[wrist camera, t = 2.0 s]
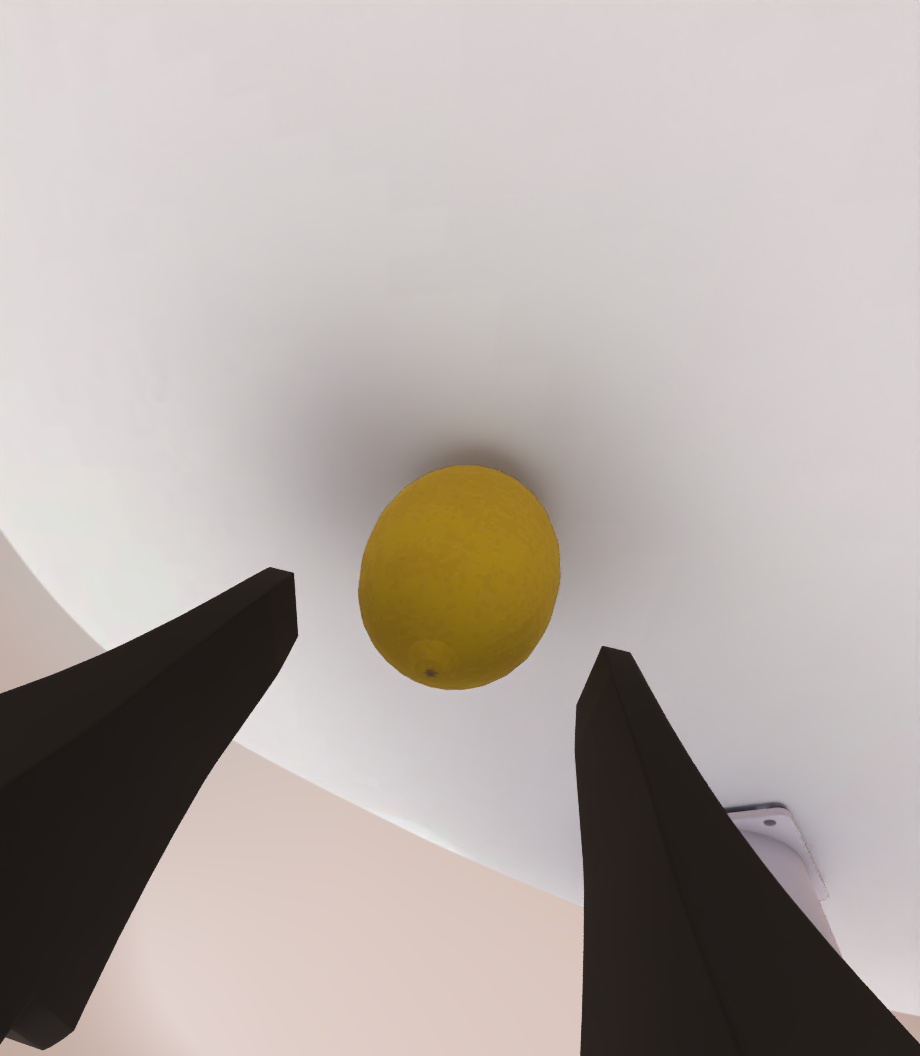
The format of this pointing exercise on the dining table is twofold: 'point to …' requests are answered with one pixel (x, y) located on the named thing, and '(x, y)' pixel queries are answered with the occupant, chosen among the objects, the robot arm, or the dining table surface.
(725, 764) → the dining table surface
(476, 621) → the lemon
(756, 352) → the dining table surface
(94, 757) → the robot arm
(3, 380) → the dining table surface
